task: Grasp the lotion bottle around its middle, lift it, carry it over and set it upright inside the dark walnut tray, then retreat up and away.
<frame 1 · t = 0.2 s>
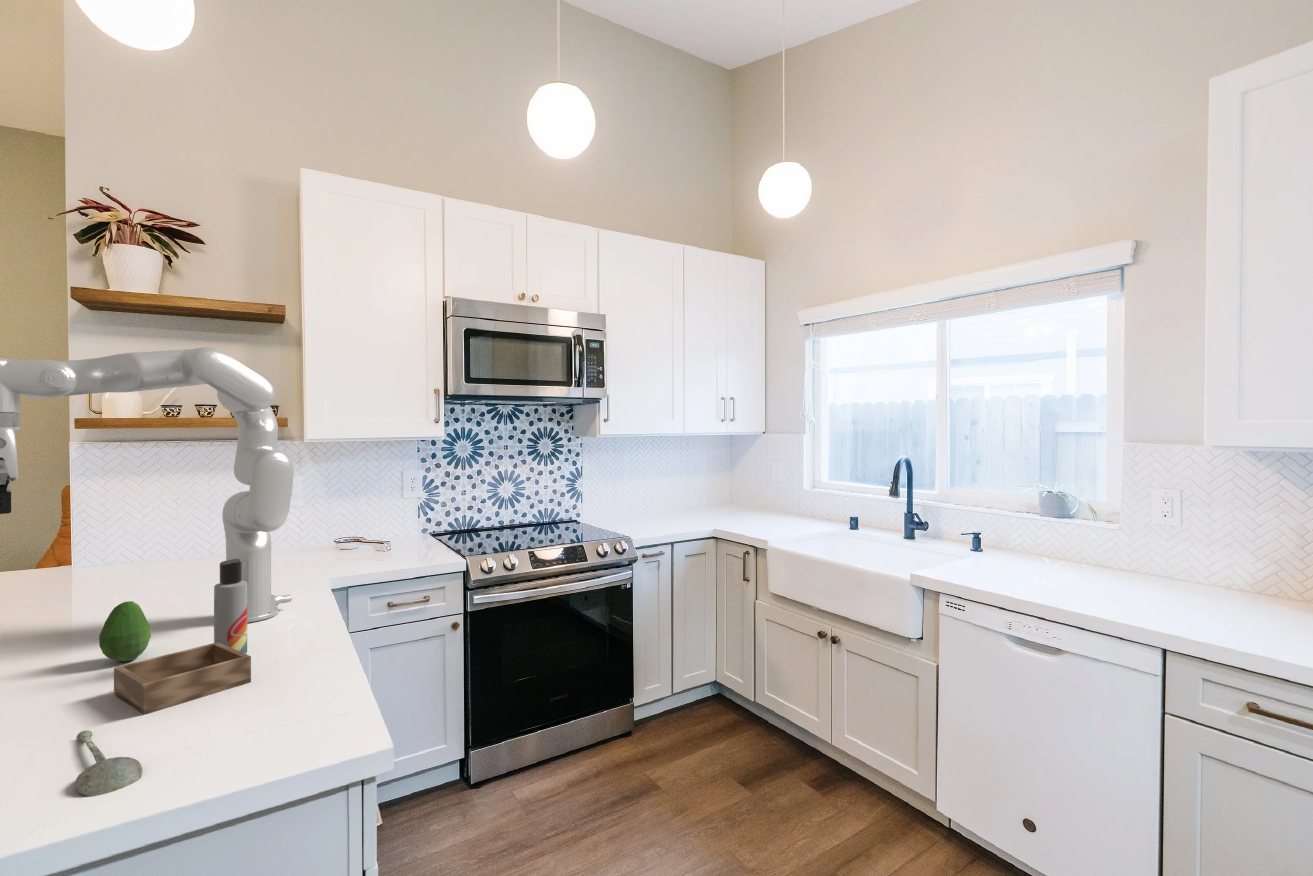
lotion bottle: (230, 657, 128), on the counter
avocado: (125, 661, 125), on the counter
soupspoon: (99, 767, 87), on the counter
walnut tray: (184, 688, 112), on the counter
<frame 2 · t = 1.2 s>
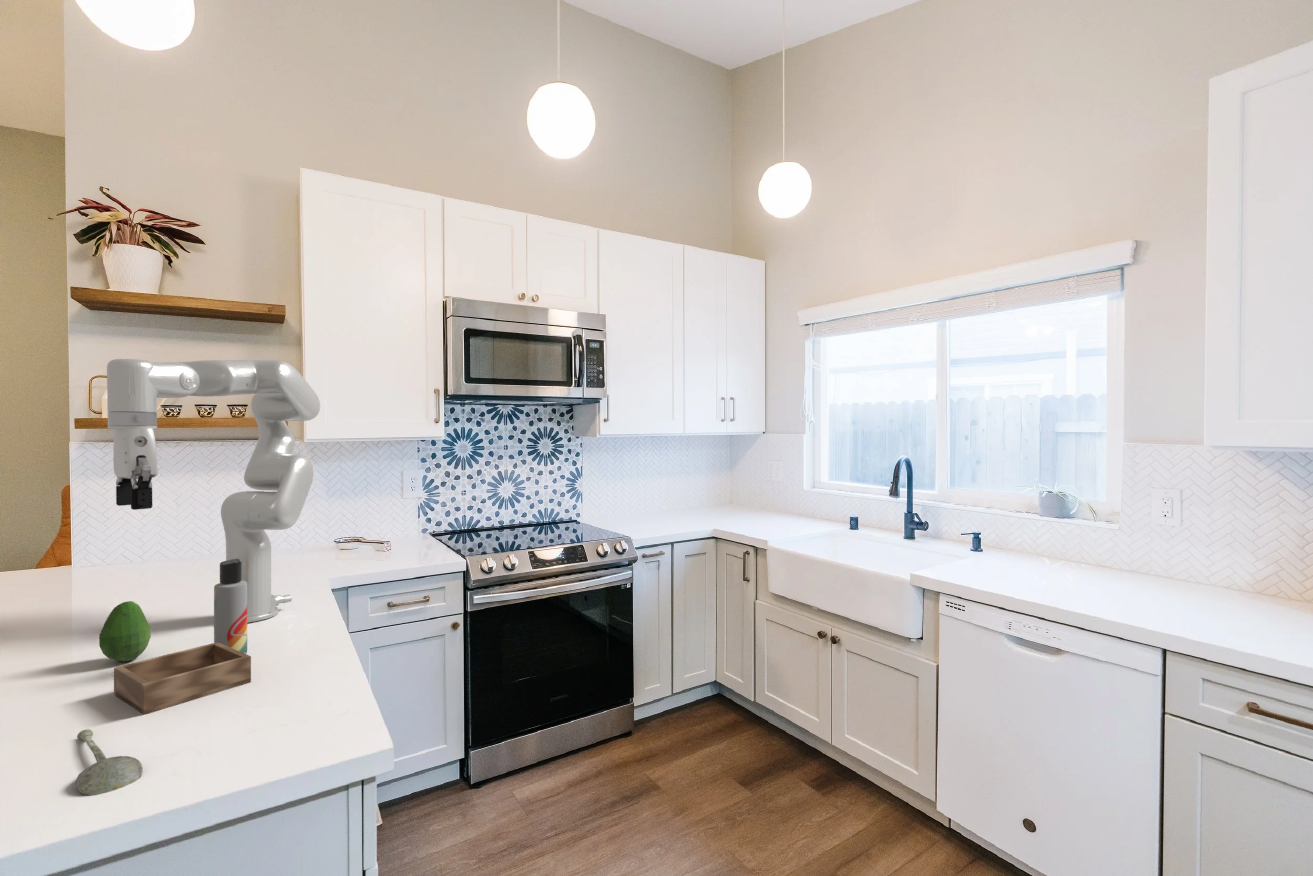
hand: (134, 506, 123), 32 cm above the counter, tool pointing down, fingers open, 9 cm apart
nothing on the counter moved.
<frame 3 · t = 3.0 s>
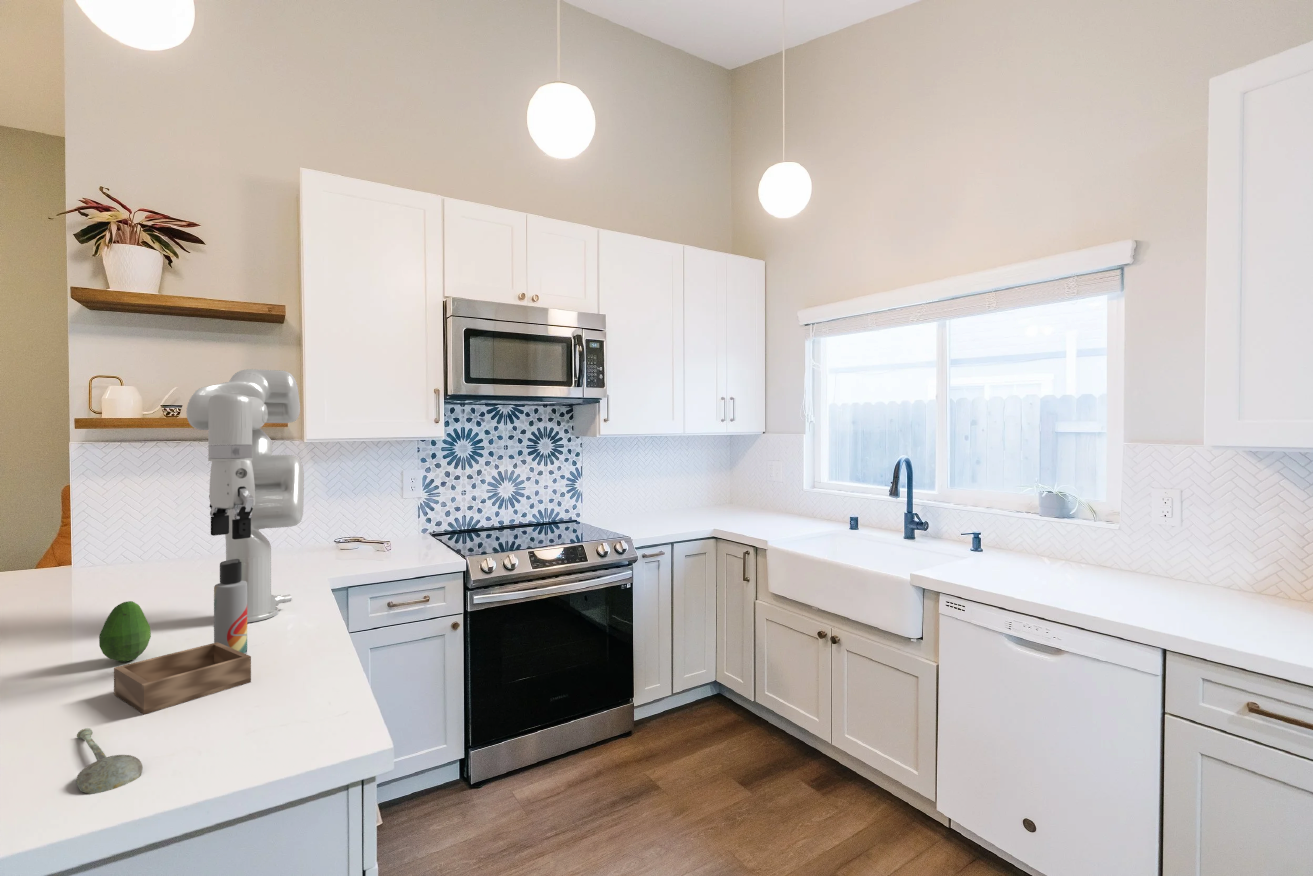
hand: (230, 536, 127), 25 cm above the counter, tool pointing down, fingers open, 9 cm apart
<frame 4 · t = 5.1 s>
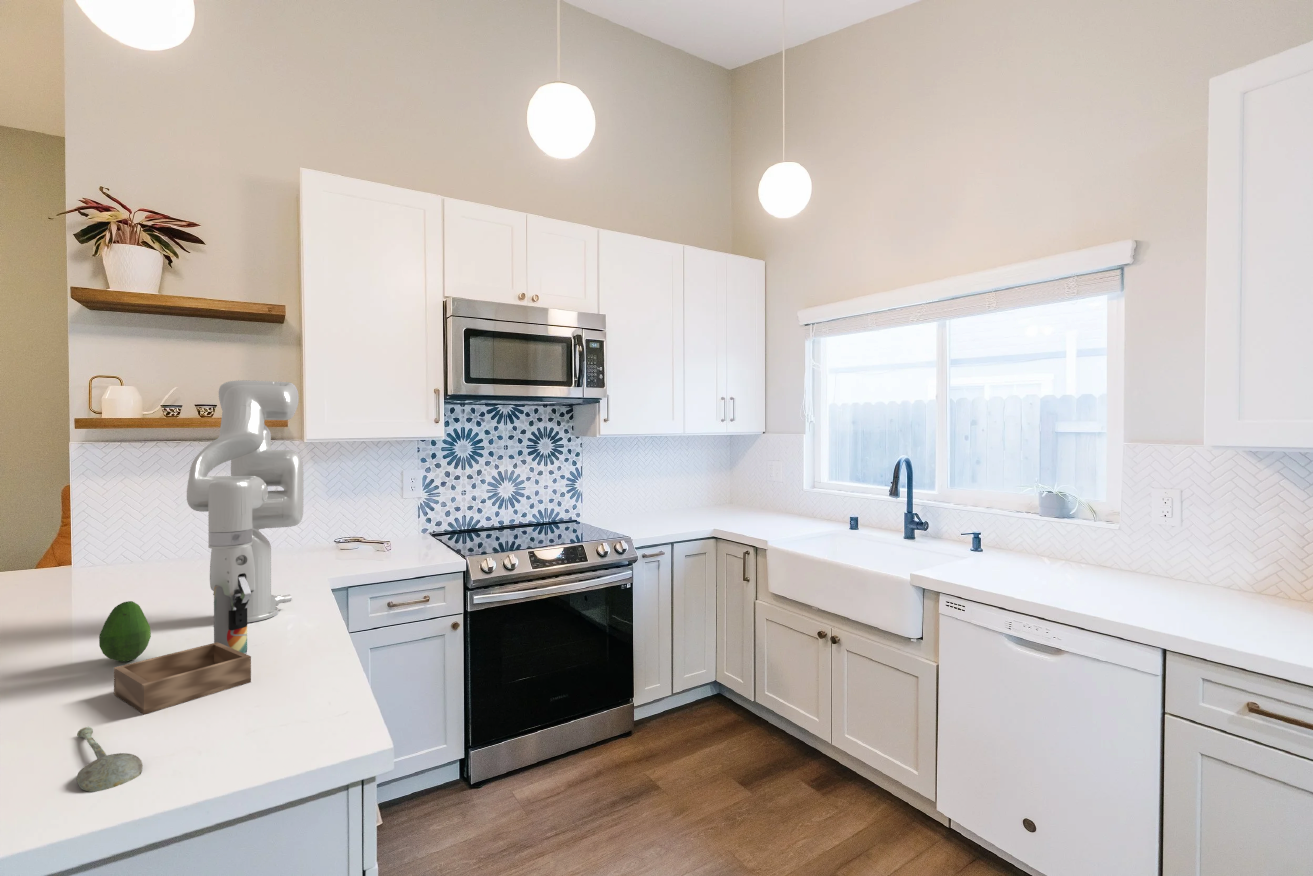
hand: (230, 624, 128), 7 cm above the counter, tool pointing down, fingers closed on lotion bottle, 5 cm apart
lotion bottle: (230, 657, 128), on the counter, touching gripper
when the fingers open (8 cm above the counter, at t = 11.6 s): lotion bottle stays where it is, resting on walnut tray.
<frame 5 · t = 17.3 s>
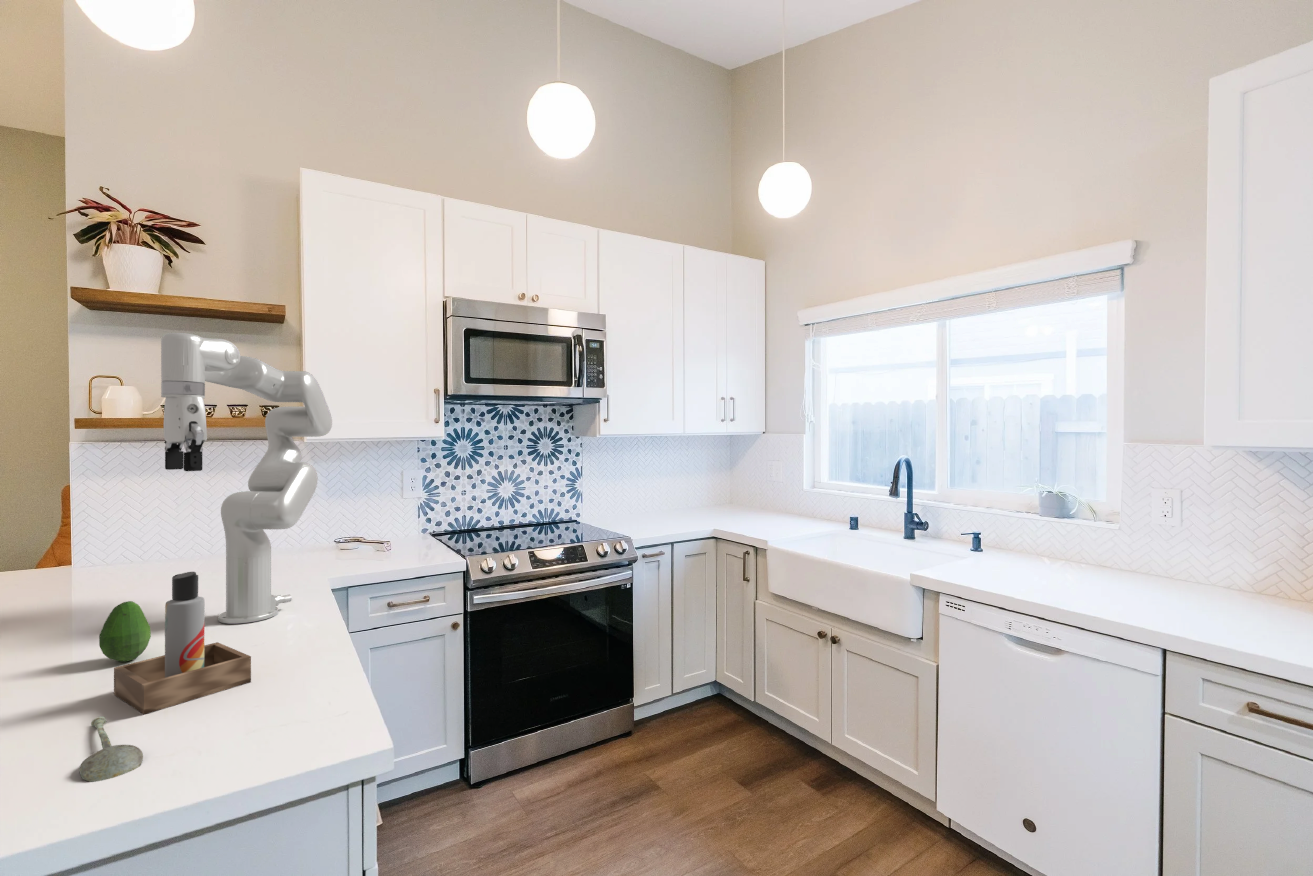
hand: (183, 470, 133), 38 cm above the counter, tool pointing down, fingers open, 9 cm apart
lotion bottle: (184, 684, 112), point 1 cm above the counter, touching walnut tray
soupspoon: (106, 753, 90), on the counter
everything else where it was.
at the end: lotion bottle inside the target area on the walnut tray (0.3 cm from its centre), point 0.6 cm above the walnut tray's base; lotion bottle tilted 0°; the gripper is holding nothing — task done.
